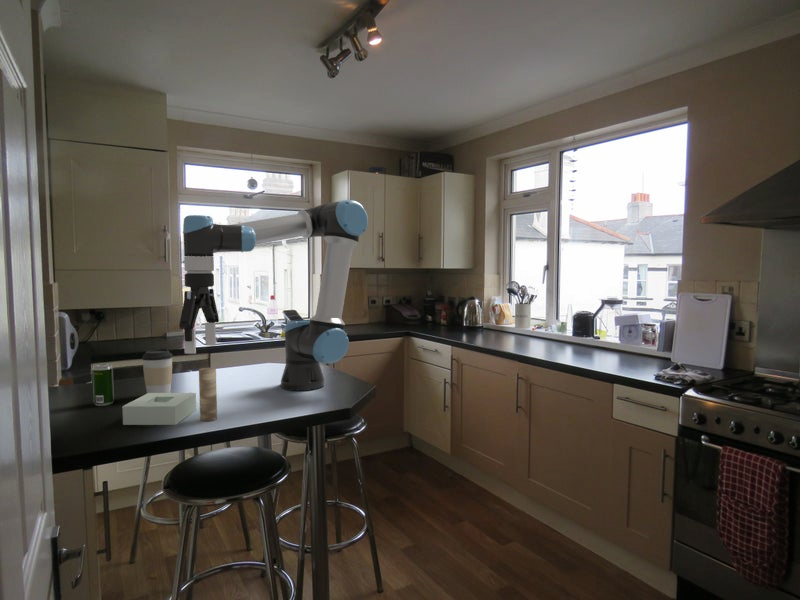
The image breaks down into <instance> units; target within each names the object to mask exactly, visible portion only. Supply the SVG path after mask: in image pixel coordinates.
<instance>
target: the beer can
mask: <svg viewBox="0 0 800 600" xmlns="http://www.w3.org/2000/svg"><path fill="white" fill-rule="evenodd" d="M112 365H113V364H112V363H99V364H94V365H92V369H91V370H92V393H93V394H92V395H93V405H94V406H96V407H104V406H110V405H112V404H114V401H115V392H114V367H113V366H112Z"/></svg>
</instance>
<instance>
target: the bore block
mask: <svg viewBox="0 0 800 600" xmlns="http://www.w3.org/2000/svg"><path fill="white" fill-rule="evenodd" d="M121 407H122V425H123V426H127V425H128V426H131V425H132V426H133V425H134V426H135V425H136V426H141V425H142V426H155V425H156V426H163V425H164V426H170V425H171V426H176V425H178V423H180V422H181V421H183V420H184V419H186V418H187V417H188V416H190V415H191V414H192V413H193V412H195V411H197V392H170V393H147V392H146V394H144V395H142V396H140V397H138V398H136V399H135V400H132V401H130V402H128V403H126V404H124V405H123V406H121Z"/></svg>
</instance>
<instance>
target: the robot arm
mask: <svg viewBox="0 0 800 600" xmlns="http://www.w3.org/2000/svg"><path fill="white" fill-rule="evenodd" d="M368 225H369V216H368V213H367V211H366V210H365V208H364V206H363V205H362V204H361V203H360V202H358V201H356V200H352V199H351V200H348V199H344V200H340V201H333V202H327V203H326V202H325V203H322V204H320V205H316V206H314V207H310V208H306V209H301V210H299V211H298V212H297V213H295V214H288V215H283V216H277V217H270V218H264V219H259V220H252V221H246V222H240V223H239V222H238V223H234V224H218V223H214V219H213V217H212V216H210V215H203V214H201V215H198V214H190V215H187V216H185V217H184V218H183V228H182V236H183V256H184V258H183V259H184V260H182V263H183V264H184V271H185V274H184V286H185V287H186V288H190V290H185V291H184V293H183V294H184V297H183V303H182V310H181V315H180V319H179V325H178V326H179V329H180V330H183V339H184V340H183V343H184V346H183V347H184V349H183V350H184V354H189V355H190V354H194V355H195V354H197V349H196V348H197V344H196V343H197V342H196V341H197V340H196V337H197V336H196V328H195V325H196V324H195V323H196V321H197V317H198V314H199V312H200V309H201V310H202V314H203V316H204V318H205V321H206V322H204V329H205V330H204V331H205V332H204V333H205V334H204V335H205V336H204V337H205V340H204V341H205V346H216V344H217V341H216V339H217V338H216V337H217V335H216V334H217V333H216V323H219V321H220V320H219V319H220V318H219V313H218V308H217V303H216V300H215V293H214V291H215V290H214V289H213V288H211V287H214V286H215V274H214V273H213V272H214V271H215V270H214V269H215V262H214V261H215V260H214V259H215V258H214V253H221V252H222V253H229V252H230V253H231V252H233V253H234V252H241V253H244V252H252V251H253V250H254V249H255V247H256V245H257V246H258V245H261V244H268V243H272V242H277V241H283V240H287V239H293V238H297V237H303V238H305V239H308V238H314V237H315V238H319V237H323V239H324V241H325V242H326V250H325V256H324V262H323V268H322V273H321V280H320V285H319V293H318V297H317V298H318V299H317V304H316V311H315V314H314V315H313V316H312V317H311V318H310V319H309V320H301V321H300V320H299V321H288V322H287V323H286V324H285V327H284V336H285V337H284V340H285V341H284V342H285V343H284V346H285V366H284V369H283V373H282V376H281V379H280V387H281V389H284V390H286V389H287V391H295V390H297V391H299V392H300V391H303V392H304V391H312V390H311V389H313V390H318V389H320V387H321V388H322V386H323V387H325V385H324V384H325V383H326V382H325V381H326V380H325V376H324V373H323V370H322V367H321V364H334V363H337V362H339V361H340V360H341V359H343V358H344V357H345V356H346V354H347V352H348V350H349V345H350V343H349V342H350V341H349V337H348V336H347V335H348V334H347V333H346V332H345V328H346V327H345V326H346V323H345V322H344V320H343V319H342V316H343V312H344V311H343V310H344V306H345V305H344V304H345V299H346V292H347V285H348V279H349V273H350V267H351V261H352V254H353V249H354V248H355V247H356V246H357V245H358V244H359V238H360V236H361V235H362V234H364V232H366V230H367V228H368ZM320 363H321V364H320ZM317 388H318V389H317ZM297 391H296V392H297Z"/></svg>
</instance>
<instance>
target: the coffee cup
mask: <svg viewBox="0 0 800 600" xmlns="http://www.w3.org/2000/svg"><path fill="white" fill-rule="evenodd" d="M141 360H142V370H143V376H144V377H143V379H144V384H145V390H146V394H147V393H172V392H171V389H172V388H171V387H172V386H171V385H172V376H173V353H172V352H170V351H169V350H168V349H167V348H162V347H161V348H159V349H152V350H148V351H145V352H144V354H143V355H142V358H141Z"/></svg>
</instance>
